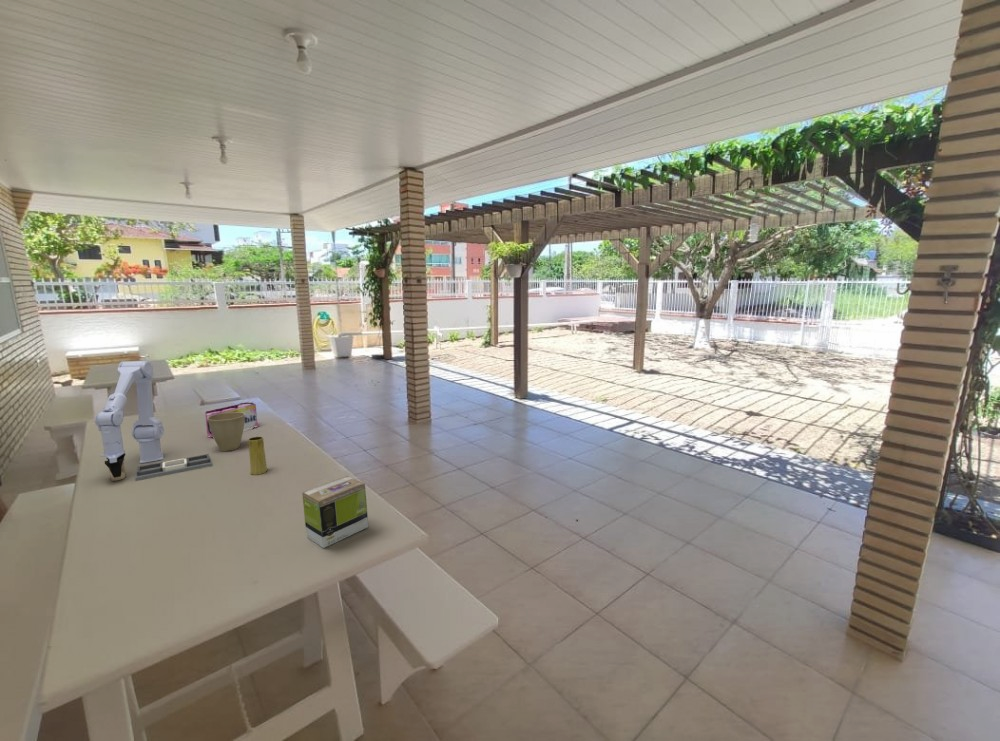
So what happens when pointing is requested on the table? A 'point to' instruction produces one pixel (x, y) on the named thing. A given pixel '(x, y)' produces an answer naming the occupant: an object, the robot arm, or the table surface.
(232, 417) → the plant pot
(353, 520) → the tea box
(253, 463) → the vase
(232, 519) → the table surface
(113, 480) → the beech pin
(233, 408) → the gum box
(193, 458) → the gray compartment tray
